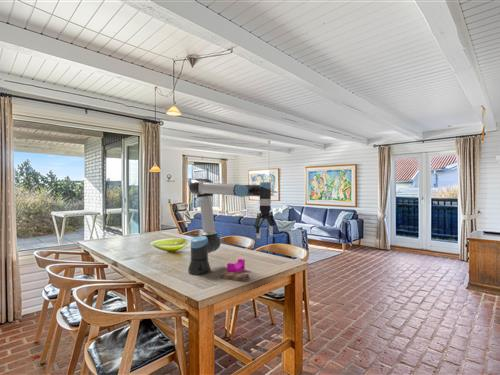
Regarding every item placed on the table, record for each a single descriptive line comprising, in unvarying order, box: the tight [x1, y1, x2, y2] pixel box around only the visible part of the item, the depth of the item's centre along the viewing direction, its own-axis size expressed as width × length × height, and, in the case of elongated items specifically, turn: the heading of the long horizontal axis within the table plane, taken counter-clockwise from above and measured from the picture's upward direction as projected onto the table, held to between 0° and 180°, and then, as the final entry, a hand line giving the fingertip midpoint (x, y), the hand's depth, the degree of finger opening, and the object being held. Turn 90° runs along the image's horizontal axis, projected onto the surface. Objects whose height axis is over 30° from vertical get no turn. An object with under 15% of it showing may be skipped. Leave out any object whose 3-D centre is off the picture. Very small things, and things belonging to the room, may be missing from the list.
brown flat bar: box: [219, 270, 250, 282], centre depth 176 cm, size 17×7×2 cm, turn 66°
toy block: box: [226, 258, 246, 273], centre depth 189 cm, size 15×6×8 cm, turn 147°
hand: (264, 236), depth 184 cm, fingers open, 13 cm apart
